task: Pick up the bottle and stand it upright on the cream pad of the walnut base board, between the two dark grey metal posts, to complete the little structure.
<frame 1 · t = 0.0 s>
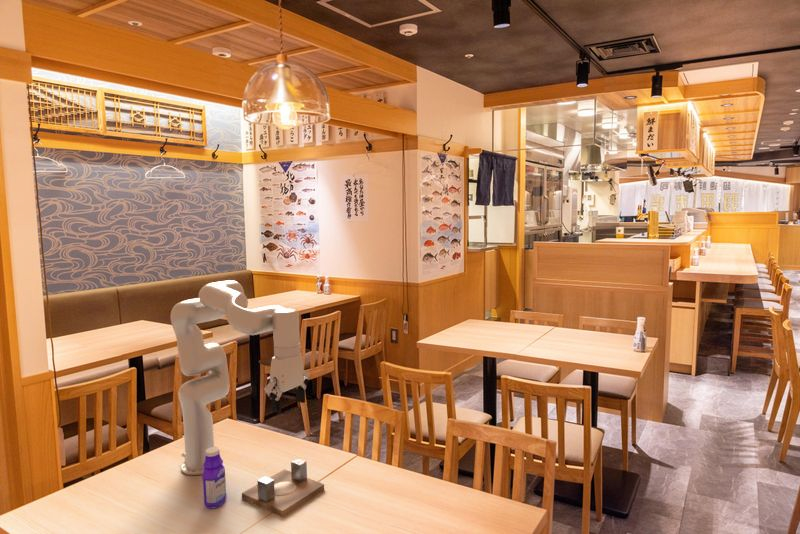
hand: (289, 406, 160), 31 cm above the table, tool pointing down, fingers open, 9 cm apart
bottle: (215, 503, 165), on the table
post pair: (283, 479, 169), on the base board, point 5 cm above the table
base board: (283, 494, 170), on the table
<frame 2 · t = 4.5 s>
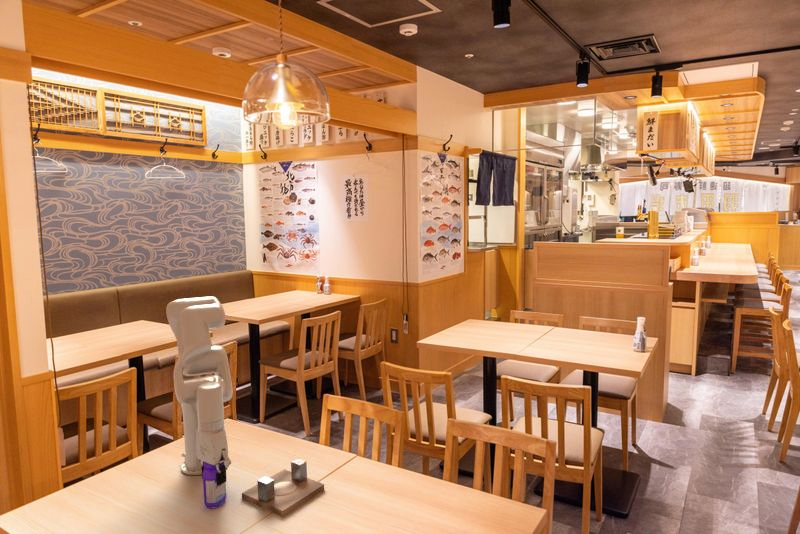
hand: (214, 479, 165), 8 cm above the table, tool pointing down, fingers closed on bottle, 6 cm apart
bottle: (215, 503, 165), on the table, touching gripper
when the fingers open (11 cm above the table, at t = 12.5 s): bottle stays where it is, resting on base board.
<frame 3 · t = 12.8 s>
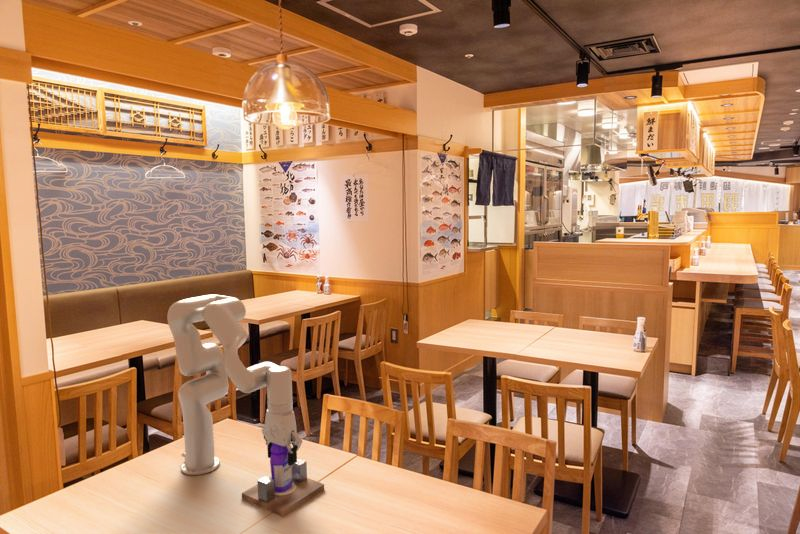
hand: (282, 459, 169), 12 cm above the table, tool pointing down, fingers open, 8 cm apart
bottle: (282, 488, 170), point 2 cm above the table, touching base board
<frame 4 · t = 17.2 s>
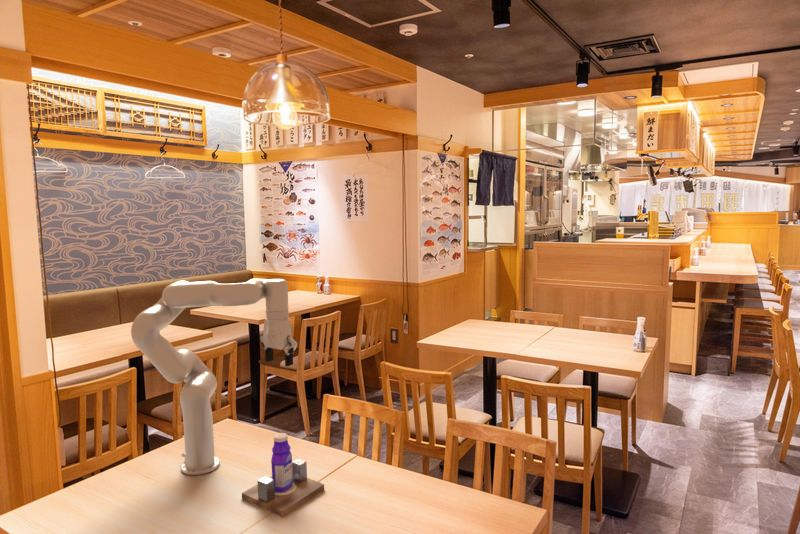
hand: (279, 363, 187), 36 cm above the table, tool pointing down, fingers open, 9 cm apart
nothing on the table moved.
at the end: bottle 0.2 cm off-centre on the base board, point 2.0 cm above the base board's base; bottle tilted 0°; the gripper is holding nothing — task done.
